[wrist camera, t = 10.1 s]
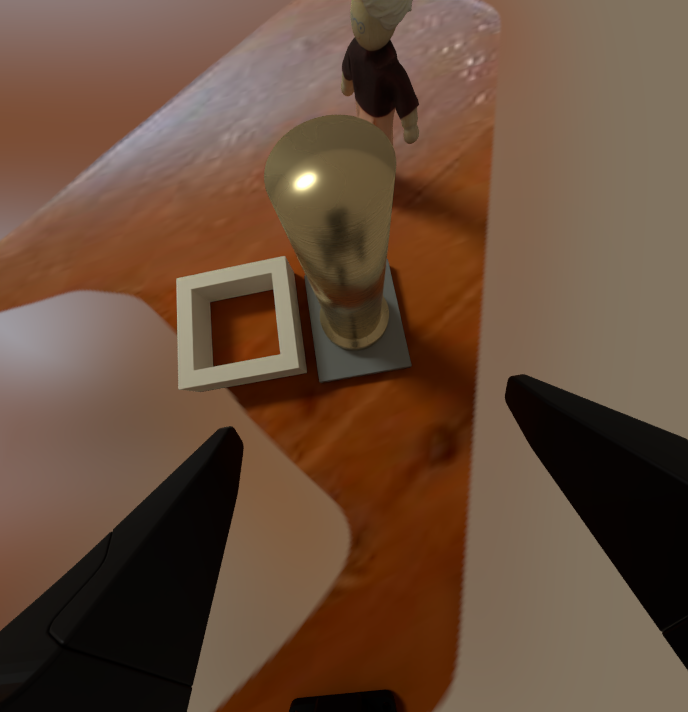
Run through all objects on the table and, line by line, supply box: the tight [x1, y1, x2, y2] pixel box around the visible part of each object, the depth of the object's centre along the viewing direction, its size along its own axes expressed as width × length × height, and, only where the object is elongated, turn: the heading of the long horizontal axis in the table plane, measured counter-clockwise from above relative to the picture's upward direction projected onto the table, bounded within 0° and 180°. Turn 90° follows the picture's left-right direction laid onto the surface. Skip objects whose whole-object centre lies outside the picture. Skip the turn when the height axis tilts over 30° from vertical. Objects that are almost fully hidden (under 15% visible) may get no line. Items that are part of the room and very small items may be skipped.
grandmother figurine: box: [341, 0, 419, 146], centre depth 18 cm, size 8×4×13 cm, turn 51°
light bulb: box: [264, 115, 396, 351], centre depth 14 cm, size 5×5×13 cm
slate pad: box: [304, 259, 412, 383], centre depth 21 cm, size 9×7×1 cm
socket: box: [177, 256, 307, 392], centre depth 21 cm, size 9×9×2 cm
